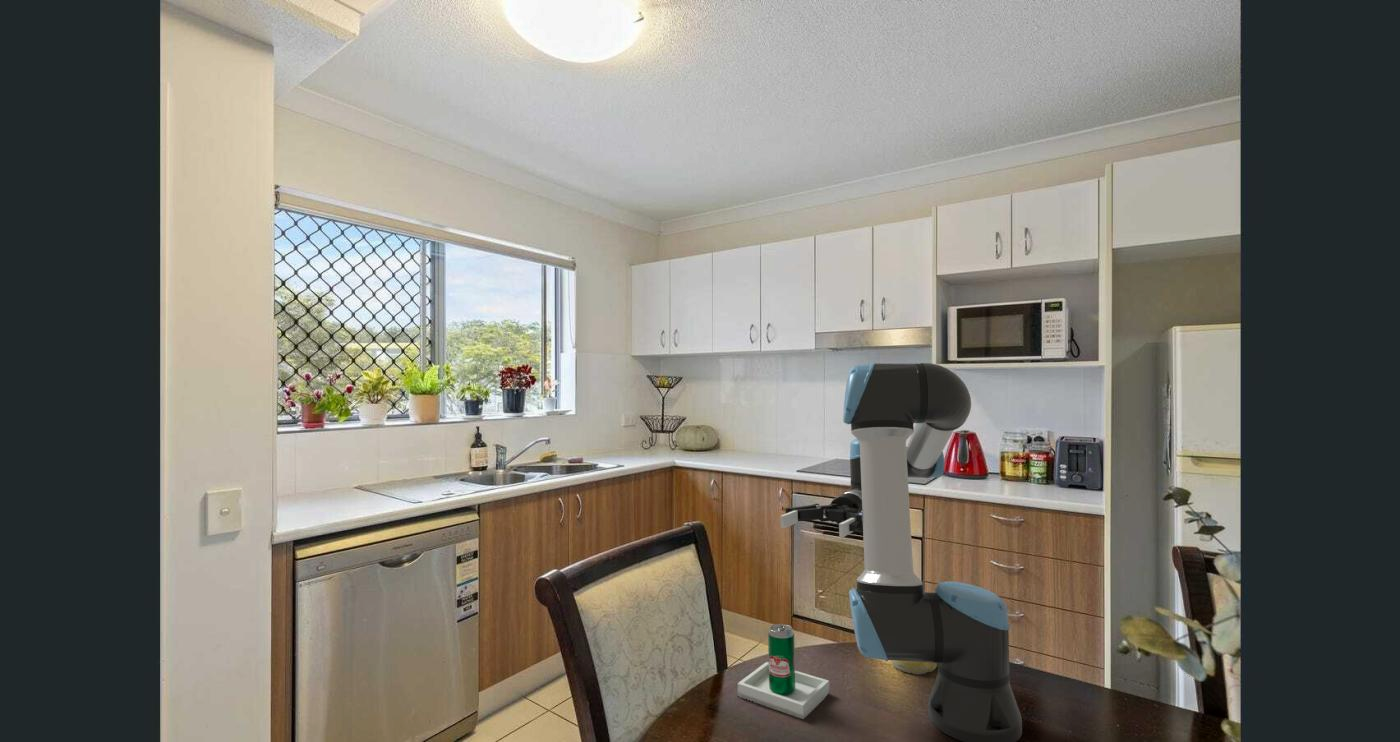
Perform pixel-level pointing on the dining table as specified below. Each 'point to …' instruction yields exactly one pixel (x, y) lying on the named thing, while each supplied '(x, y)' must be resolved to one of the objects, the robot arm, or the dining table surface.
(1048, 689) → the dining table surface
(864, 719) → the dining table surface
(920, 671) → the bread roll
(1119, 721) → the dining table surface
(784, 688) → the soda can
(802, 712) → the tray
